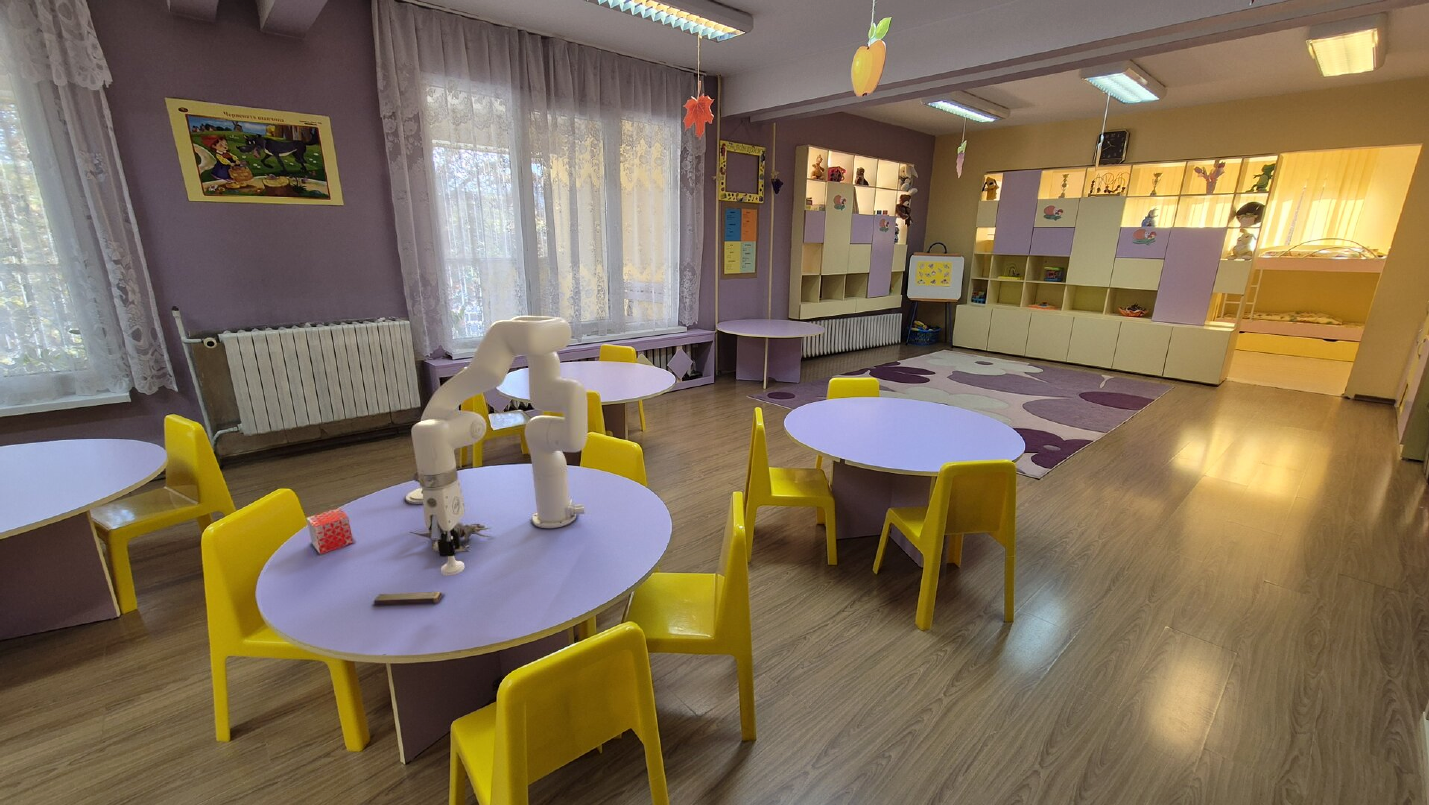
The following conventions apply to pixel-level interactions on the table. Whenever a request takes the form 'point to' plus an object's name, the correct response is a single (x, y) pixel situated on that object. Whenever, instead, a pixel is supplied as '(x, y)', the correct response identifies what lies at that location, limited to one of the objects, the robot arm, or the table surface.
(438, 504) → the robot arm
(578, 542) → the table surface
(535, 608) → the table surface
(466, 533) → the figurine
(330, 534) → the red patterned box
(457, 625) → the table surface
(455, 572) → the chess piece
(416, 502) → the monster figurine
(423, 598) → the walnut stick
